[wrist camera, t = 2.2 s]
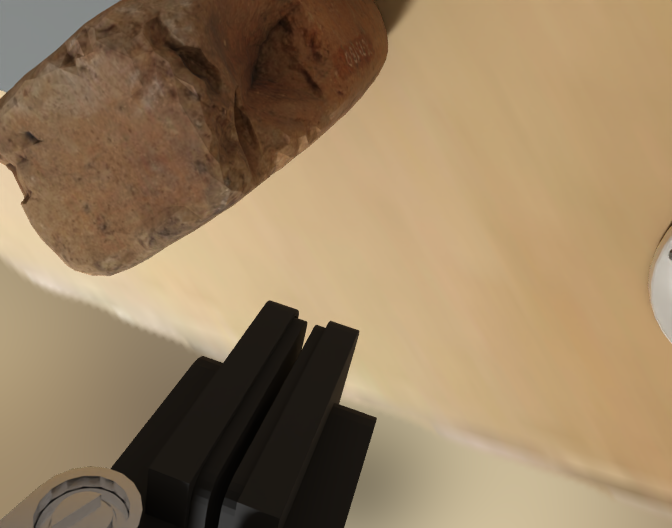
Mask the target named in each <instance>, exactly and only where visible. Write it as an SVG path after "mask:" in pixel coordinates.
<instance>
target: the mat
mask: <svg viewBox="0 0 672 528" xmlns="http://www.w3.org/2000/svg"><path fill="white" fill-rule="evenodd" d="M119 1H120V0H0V90H2V91H5V92H8V91H9V90H10V89H11V88H12V87H14V85H15V84H16V83H17V82H18V81H19V80H20V79H21V78H22V77H23V76H24V75H25V74H26V73H28V72H29V71H30V70H32V69H33V68H34V67H36V66H37V65H38V64H39V63H41V62H42V61H43V60H44V59H46V58H47V57H48V56H49V55H51V54H52V53H53V52H54V51H56V50H57V49H58V48H59V47H60V46H61V45H62V44H63V43H64V42H65V41H66V40H67V39H68V38H70V37H71V36H72V35H73V34H74V33H75V32H76V31H77V30H78V29H79V28H80V27H81V26H82V25H84V24H85V23H86V22H88V21H89V20H91V19H92V18H94V17H95V16H97V15H98V14H100V13H101V12H103V11H104V10H106V9H108V8H109V7H111V6H112V5H114V4H115V3H117V2H119Z"/></svg>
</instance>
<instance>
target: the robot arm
mask: <svg viewBox="0 0 672 528" xmlns="http://www.w3.org/2000/svg"><path fill="white" fill-rule="evenodd" d="M671 249H672V226H671V227H670V228H669V229H668V231H667V232H666V234H665V235H664V237H663V239H662V240H661V242H660V244H659V245H658V247H657V249H656V252H655V254H654V257H653V260H652V262H651V265H650V271H649V279H648V290H649V298H650V303H651V306H652V309H653V312H654V315H655V318H656V320H657V322H658V324H659V326H660V328H661V330H662V332H663V333H664V335H665V336H666V337H667V338H668V339H669V341H670V342H671V343H672V251H670V250H671ZM298 316H299V311H298V310H297V309H294V308H291V307H288V306H285V305H282V304H279V303H276V302H273V301H268V302H267V303H266V304H265V305H264V307H263V308H262V309H261V311H260V312H259V314H258V315H257V316H256V318H255V319H254V321H253V322H252V323H251V325H250V326H249V328H248V329H247V330H246V332H245V333H244V335H243V336H242V337H241V339H240V340H239V342H238V343H237V344H236V346H235V347H234V349H233V350H232V351H231V353H230V354H229V356H228V357H227V358H226V360H225V361H224V363H221V362H218V361H216V360H213V359H210V358H207V357H204V356H202V357H200V358H198V359H197V360H196V361H195V362H194V363H193V365H192V366H191V367H190V368H189V370H188V371H187V372H186V373H185V375H184V376H183V377H182V379H181V380H180V381H179V382H178V384H177V385H176V386H175V387H174V389H173V390H172V391H171V393H170V394H169V395H168V396H167V398H166V399H165V400H164V401H163V403H162V404H161V405H160V407H159V408H158V409H157V411H156V412H155V413H154V414H153V415H152V417H151V418H150V419H149V420H148V422H147V423H146V424H145V426H144V427H143V428H142V429H141V431H140V432H139V433H138V434H137V436H136V437H135V438H134V440H133V441H132V442H131V444H130V445H129V446H128V447H127V448H126V450H125V451H124V452H123V454H122V455H121V456H120V457H119V459H118V460H117V461H116V462H115V464H114V465H113V466H112V468H111V469H109V468H102V467H92V466H89V467H82V468H75V469H71V470H68V471H66V472H63V473H60V474H58V475H55V476H54V477H52V478H51V479H49V480H48V481H46V482H45V483H43V484H42V485H40V486H39V487H38V488H37V489H35V490H34V491H33V492H32V493H31V494H30V495H29V496H27V497H26V498H25V499H24V500H23V501H22V502H20V503H19V504H18V505H17V506H16V507H15V508H14V509H12V511H10V512H9V513H8V514H7V515H6V516H4V517H3V518H2V519H1V520H0V528H344V526H345V522H346V519H347V516H348V513H349V509H350V506H351V502H352V499H353V496H354V493H355V489H356V486H357V483H358V479H359V476H360V473H361V470H362V466H363V463H364V460H365V456H366V453H367V450H368V446H369V443H370V439H371V436H372V433H373V430H374V426H375V423H376V419H377V418H376V417H373V416H370V415H367V414H365V413H362V412H359V411H356V410H353V409H351V408H348V407H345V406H342V405H339V402H340V398H341V395H342V392H343V388H344V385H345V381H346V378H347V374H348V371H349V367H350V364H351V360H352V357H353V353H354V350H355V346H356V343H357V339H358V335H359V330H356V329H353V328H350V327H347V326H344V325H341V324H338V323H335V322H332V321H329V323H328V325H327V327H326V328H324V327H321V326H318V325H315V327H314V328H313V330H312V332H311V334H310V336H309V337H308V339H307V341H306V343H305V345H304V347H303V349H302V346H303V341H304V337H305V333H306V328H307V321H304V320H301V319H298Z"/></svg>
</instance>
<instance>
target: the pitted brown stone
mask: <svg viewBox="0 0 672 528" xmlns="http://www.w3.org/2000/svg"><path fill="white" fill-rule="evenodd" d="M387 52H388V39H387V31H386V28H385V25H384V22H383V19H382V16H381V14H380V12H379V9H378V8H377V6H376V4H375V3H374V1H373V0H120V1H119V2H117V3H115V4H114V5H112V6H111V7H109V8H108V9H106V10H104V11H103V12H101V13H100V14H98V15H97V16H95V17H94V18H92V19H91V20H89V21H88V22H86V23H85V24H84V25H82V26H81V27H80V28H79V29H78V30H77V31H76V32H75V33H74V34H73V35H72V36H71V37H70V38H68V39H67V40H66V41H65V42H64V43H63V44H62V45H61V46H60V47H59V48H58V49H57V50H56V51H54V52H53V53H52V54H51V55H49V56H48V57H47V58H46V59H44V60H43V61H42V62H41V63H39V64H38V65H37V66H36V67H34V68H33V69H32V70H30V71H29V72H28V73H26V74H25V75H24V76H23V77H22V78H21V79H20V80H19V81H18V82H17V83H16V84H15V85H14V87H12V88H11V89H10V90H9V91H8V92H7V93H6V94H5V95H4V96H3V97H2V98H1V99H0V163H2V164H4V165H6V166H7V168H8V169H9V170H11V171H12V172H13V174H14V177H15V179H16V181H17V183H18V185H19V187H20V189H21V191H22V193H23V195H24V200H23V201H22V202H21V205H22V207H23V209H24V211H25V213H26V215H27V217H28V219H29V221H30V223H31V225H32V227H33V228H34V229H35V231H36V232H37V234H38V235H39V236H40V238H41V239H42V240H43V241H44V242H45V243H46V244H47V245H48V246H49V247H50V248H51V249H52V250H53V251H54V252H55V253H56V254H57V255H58V256H59V257H60V258H61V260H62V261H63V262H64V263H65V264H66V265H67V266H69V267H70V268H72V269H73V270H75V271H79V272H82V273H86V274H89V275H93V276H97V275H102V276H111V275H114V274H116V273H119V272H122V271H124V270H127V269H129V268H132V267H134V266H136V265H138V264H139V263H141V262H143V261H145V260H147V259H149V258H150V257H152V256H153V255H155V254H156V253H158V252H160V251H161V250H163V249H164V248H166V247H167V246H169V245H170V244H172V243H174V242H176V241H177V240H179V239H181V238H183V237H184V236H186V235H188V234H189V233H191V232H193V231H195V230H196V229H198V228H199V227H201V226H202V225H204V224H206V223H207V222H209V221H210V220H212V219H213V218H214V217H216V216H217V215H219V214H220V213H222V212H223V211H225V210H227V209H228V208H230V207H232V206H233V205H234V204H236V203H237V202H238V201H239V200H241V199H242V198H243V197H244V196H246V195H247V194H248V193H250V192H251V191H252V190H253V189H255V188H256V187H257V186H258V185H260V184H261V183H262V182H263V181H265V180H266V179H267V178H269V177H270V175H272V174H273V173H275V172H276V171H278V170H280V169H281V168H283V167H284V166H285V165H286V164H287V163H289V162H290V161H291V160H292V159H293V158H295V157H296V156H297V155H298V154H300V153H301V152H302V151H304V150H305V149H306V148H308V147H309V146H310V145H311V144H312V143H314V142H315V141H316V140H317V139H318V138H319V137H320V136H321V135H323V134H324V133H325V132H326V131H327V130H328V129H329V128H330V127H332V126H333V125H334V124H335V123H336V122H337V121H338V120H339V119H340V118H341V117H343V116H344V115H345V114H346V113H347V112H348V111H349V110H350V109H351V108H352V107H353V106H354V105H355V103H356V102H357V101H358V100H359V99H360V98H361V97H362V96H363V94H364V93H365V92H366V90H367V89H368V88H369V87H370V85H371V84H372V83H373V82H374V80H375V79H376V77H377V76H378V75H379V72H380V70H381V69H382V67H383V64H384V62H385V60H386V57H387Z"/></svg>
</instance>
